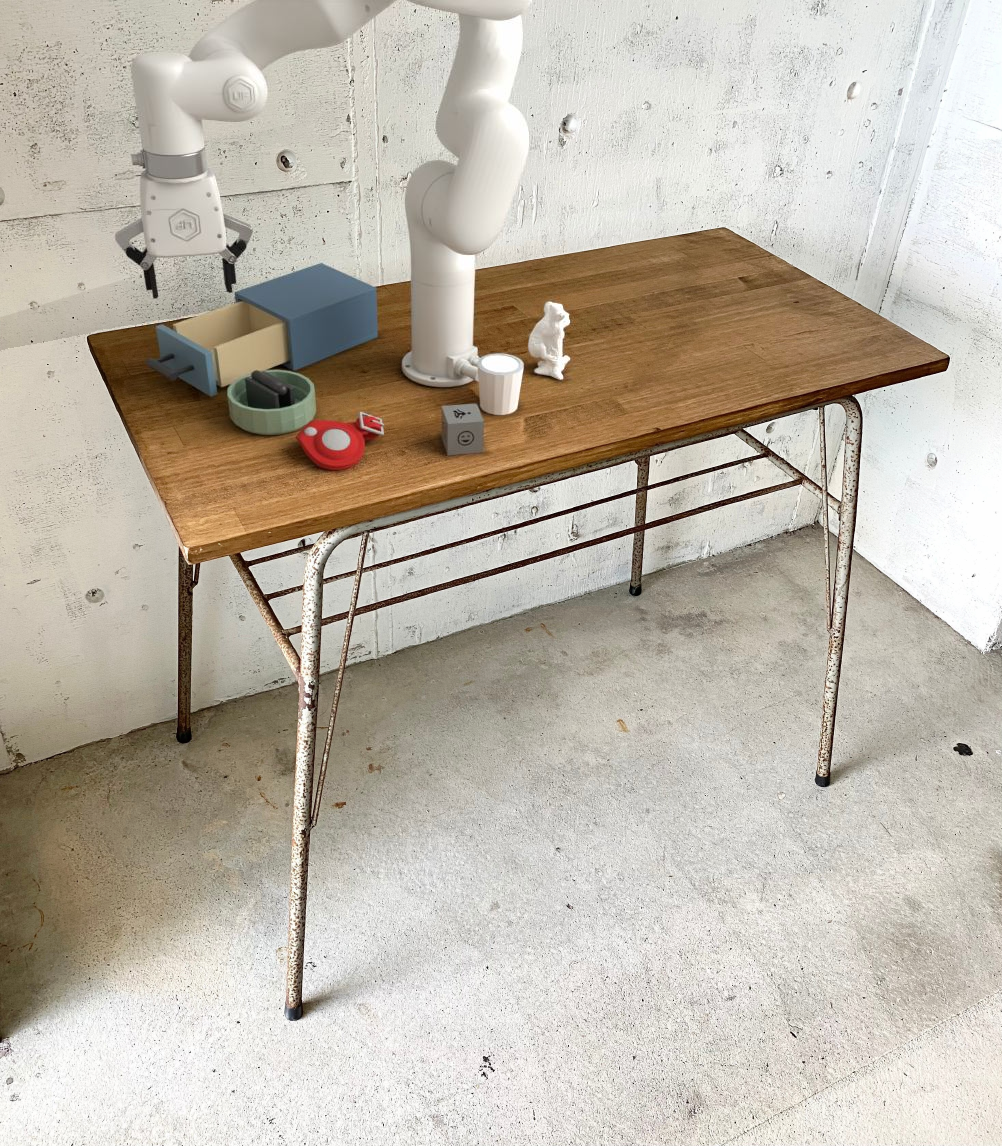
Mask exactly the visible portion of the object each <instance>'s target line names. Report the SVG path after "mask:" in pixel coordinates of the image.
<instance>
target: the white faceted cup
mask: <svg viewBox="0 0 1002 1146" xmlns="http://www.w3.org/2000/svg"><path fill="white" fill-rule="evenodd" d="M479 358H480V359H479V360H478V364H477V367H478V381H477V382H478V397H479V407H480V408H481V410H482V411H483V412H486V413H487V414H490V415H494V416H504V415H510V414H512V413H515V412H516V411H517V410H518V406H519V401H520V400H519V398H520V392H521V386H522V379H523V373H524V367H525V366H524V365H525V363H524V362H523V360H522V359H521V358H519V357H517V356H516V355H512V354H508V353H500V352H499V353H489V354H486V355H483V356H481V357H479Z"/></svg>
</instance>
